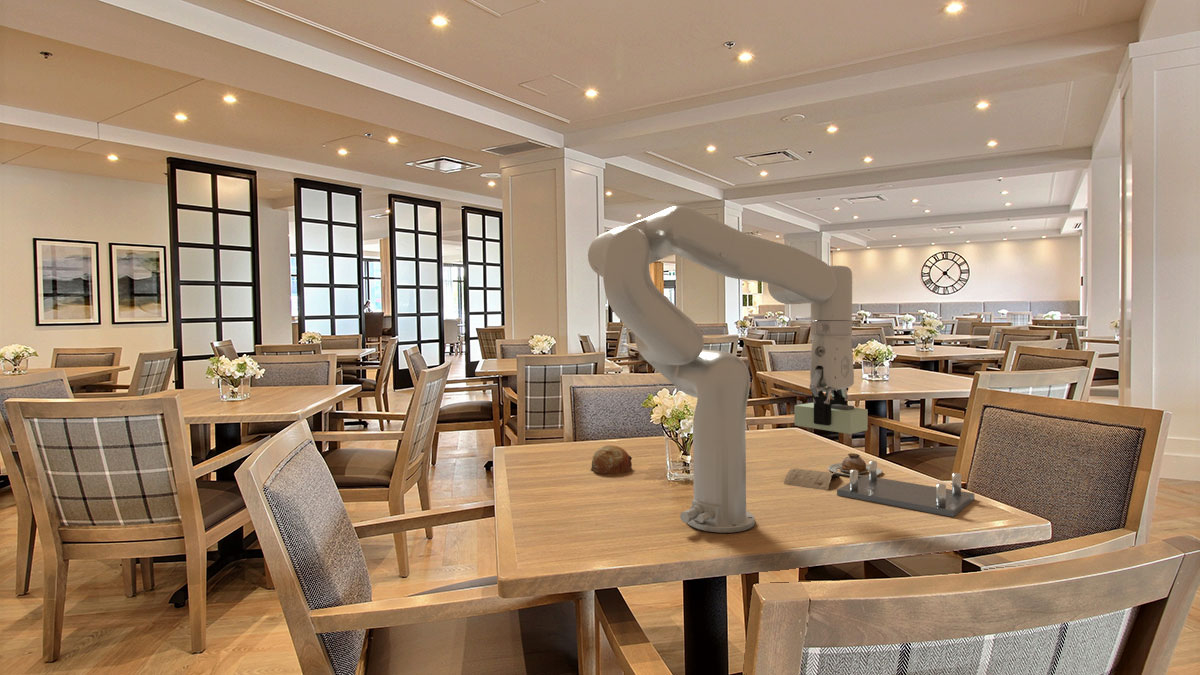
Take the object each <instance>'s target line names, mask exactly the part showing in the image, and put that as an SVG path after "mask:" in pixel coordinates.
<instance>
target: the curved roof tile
mask: <svg viewBox="0 0 1200 675" xmlns="http://www.w3.org/2000/svg"><path fill="white" fill-rule="evenodd" d="M834 476H835V478H839V477H840V476H841V475H838V473H832V472H829V471H820V470H812V469H805V468H797V467H796V468H790V469H789V470H788V472H787V473H786V475H785V478H784V481H783V484H784V485H786V486H791V487H792V486H793V487H798V488H799V487H800V488H806V489H811V490H812V489H814V490H820V491H821V490H822V491H828V490H829V487H830V484H831V480H832V477H834Z"/></svg>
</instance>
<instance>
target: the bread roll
mask: <svg viewBox="0 0 1200 675" xmlns="http://www.w3.org/2000/svg"><path fill="white" fill-rule="evenodd" d="M632 459H633V457H632V456H631V455H630V454H629V453H628V452H627V450H625V449H624V448H622V447H619V446H618V445H612V444H611V445H610V444H607V445H604V446H602V447H601V446H600V448H598V449H597V450H596V451H595V452H594V454H593V455H592V461H591V468H590V470H591V471H592V472H594V471H595V472H594V473H597V472H598V473H597V474H599V473H601V474H600V475H607V474H612V475H620V474H625V473H628V472H630V471H631V469H632V466H633V464H632ZM619 473H620V474H619Z"/></svg>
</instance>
